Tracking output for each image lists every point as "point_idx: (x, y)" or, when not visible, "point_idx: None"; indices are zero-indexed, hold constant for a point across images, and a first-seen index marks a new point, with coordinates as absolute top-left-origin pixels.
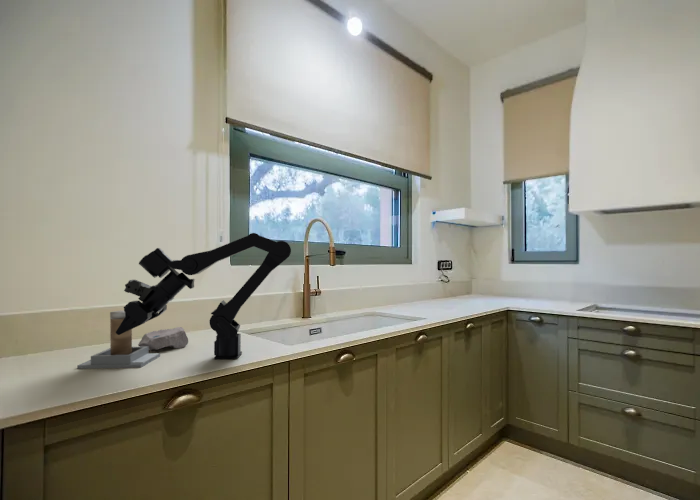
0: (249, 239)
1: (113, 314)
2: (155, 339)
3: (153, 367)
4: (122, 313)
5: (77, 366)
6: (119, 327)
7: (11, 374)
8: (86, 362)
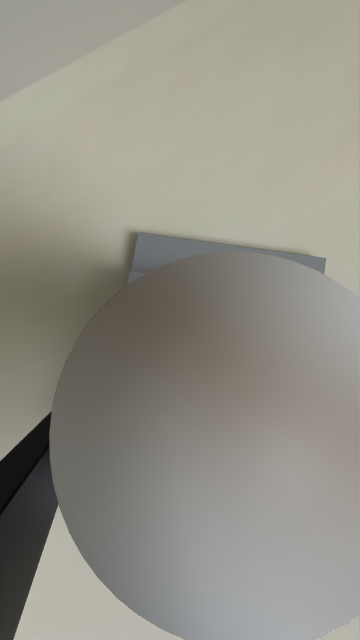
0: None
1: (80, 354)
2: None
3: (74, 572)
4: (68, 511)
5: (139, 234)
6: (7, 459)
7: (118, 52)
8: (180, 248)
